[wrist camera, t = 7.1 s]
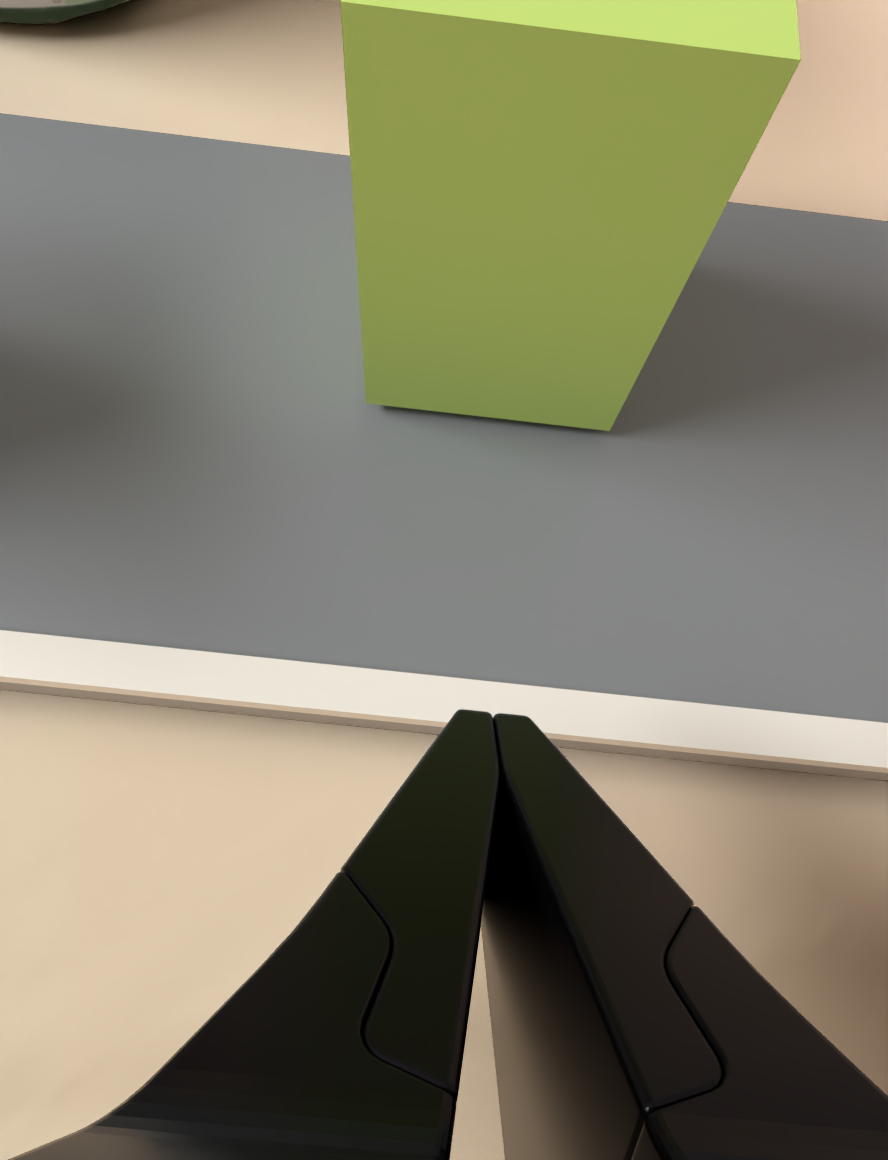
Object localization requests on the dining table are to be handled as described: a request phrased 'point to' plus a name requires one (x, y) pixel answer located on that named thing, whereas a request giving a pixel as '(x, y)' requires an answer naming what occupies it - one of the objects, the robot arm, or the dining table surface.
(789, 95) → the dining table surface
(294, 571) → the slate board
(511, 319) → the green block
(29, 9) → the coffee jar
